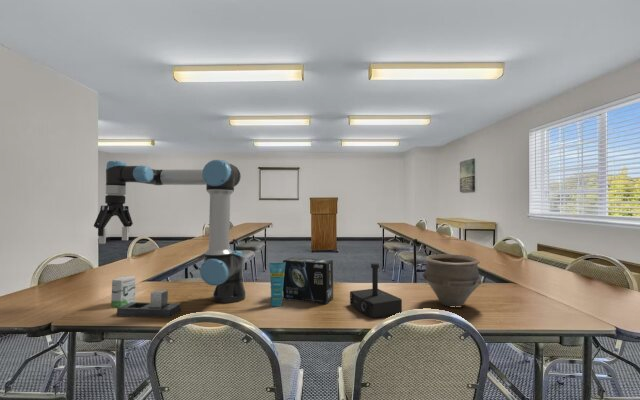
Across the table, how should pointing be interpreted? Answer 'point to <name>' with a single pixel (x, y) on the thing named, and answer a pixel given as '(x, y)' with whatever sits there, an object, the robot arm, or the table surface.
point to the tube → (277, 282)
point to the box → (308, 280)
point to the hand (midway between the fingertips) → (114, 241)
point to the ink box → (123, 291)
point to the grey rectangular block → (159, 299)
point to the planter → (452, 277)
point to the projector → (375, 299)
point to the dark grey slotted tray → (148, 310)
